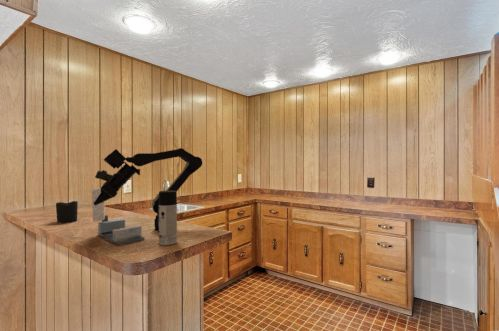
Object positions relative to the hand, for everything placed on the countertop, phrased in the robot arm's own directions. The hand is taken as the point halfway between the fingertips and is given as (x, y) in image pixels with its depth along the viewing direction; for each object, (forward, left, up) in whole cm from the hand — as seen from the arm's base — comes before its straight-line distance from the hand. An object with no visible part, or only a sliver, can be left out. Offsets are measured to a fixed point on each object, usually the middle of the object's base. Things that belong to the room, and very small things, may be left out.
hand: (94, 203), depth 111 cm
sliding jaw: (-2, -7, -12) cm, 14 cm away
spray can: (-33, +11, -14) cm, 38 cm away
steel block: (-1, -1, -7) cm, 7 cm away
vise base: (-11, +2, -14) cm, 18 cm away
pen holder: (+30, -29, -14) cm, 44 cm away
